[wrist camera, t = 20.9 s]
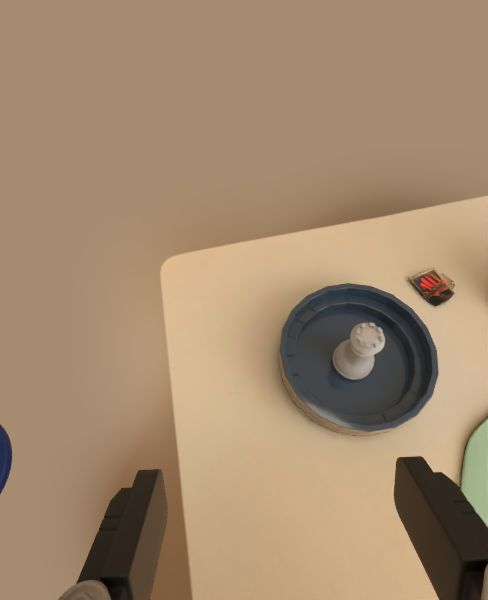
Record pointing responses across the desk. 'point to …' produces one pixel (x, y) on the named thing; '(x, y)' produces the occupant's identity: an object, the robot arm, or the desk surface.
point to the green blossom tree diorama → (477, 471)
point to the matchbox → (434, 286)
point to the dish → (382, 378)
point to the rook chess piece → (359, 351)
